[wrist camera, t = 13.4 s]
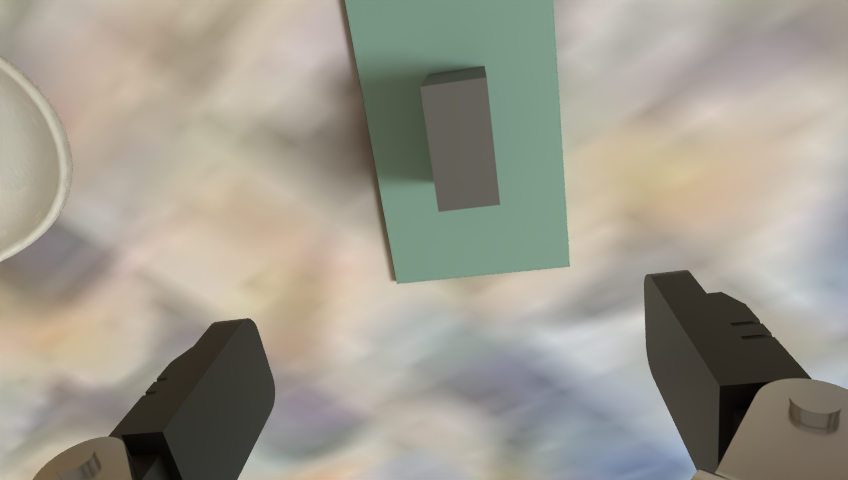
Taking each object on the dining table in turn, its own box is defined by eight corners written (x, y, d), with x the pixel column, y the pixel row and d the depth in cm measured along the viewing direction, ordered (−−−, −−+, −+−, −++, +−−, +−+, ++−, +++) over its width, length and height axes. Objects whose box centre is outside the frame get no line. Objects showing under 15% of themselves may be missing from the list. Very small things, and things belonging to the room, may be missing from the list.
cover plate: (545, -72, 29) (563, -91, 23) (567, 259, 35) (584, 307, 30) (341, -37, 30) (311, -46, 24) (398, 276, 36) (385, 325, 31)
